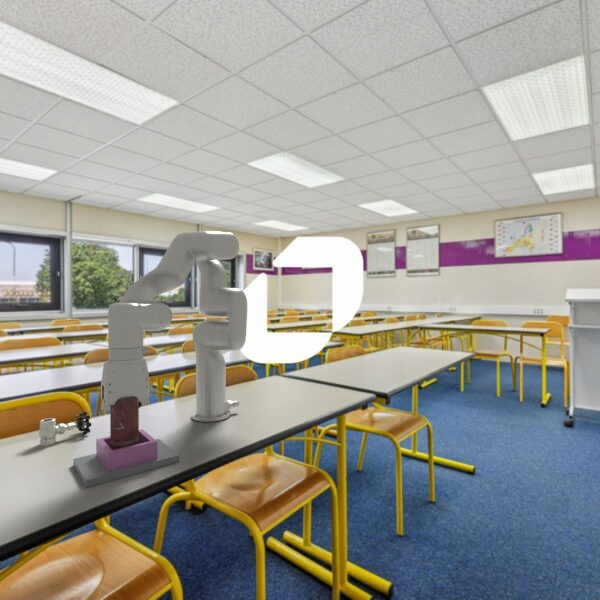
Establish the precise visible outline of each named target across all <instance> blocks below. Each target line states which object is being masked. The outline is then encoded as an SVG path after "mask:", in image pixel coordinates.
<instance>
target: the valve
mask: <svg viewBox="0 0 600 600" xmlns="http://www.w3.org/2000/svg"><path fill="white" fill-rule="evenodd" d="M90 419H91V416H90V415H89V414H88V412H87V411H86V410H85V411H82V412H81V413H79V414H78V418H77V419H76V421H75V423H74V422H69V423H67V424H65V423H63V422H61V423H57V421H56V420H57V419H56V418H54V417H48V418H44V419H43V418H42V419H41V420H40V421H39V430H38V437H39V439H40V440H39V446H40V447H49V446H52V445H55V444H56V443H57V435H59V436H61V435H64V434H65V432H66V431H72V430H74V429H75V428H76V429H78V431H79V432H82V433H81V434H82V435H87V434H89V433H91V429H90V427H92V422H90Z"/></svg>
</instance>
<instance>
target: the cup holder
mask: <svg viewBox="0 0 600 600" xmlns="http://www.w3.org/2000/svg"><path fill="white" fill-rule="evenodd" d="M95 441H96V442H95V444H96V447H95V448H96V452H95V453H92V454H88V455H85V456H80V457H76V458H73V459H72V460H73V461H72V463H73V465H72V466H73V468H74V469H75V471H76V473H77V474H78V476H79V478H80V479H81V482H82V483H83V485H84V487H85V489H86V488H90V487H94V486H97V485H102V484H104V483H107V482H111V481H115V480H118V479H122V478H126V477H128V476H132V475H136V474H139V473H142V472H143V473H144V472H147V471H150V470H154V469H157V468H159V467H160V468H161V467H163V466H167V465H172V464H176V463H178V462H180V454H178V453H177V452H176V451H174V450H173V449H172V448H171V447H169V446H168V445H167V444H166V443H164V442H163V441H162V440H160V438H154V437H153V436H151V435H150V434H149V433H148V432H146V431H145V430H144V429H142V428H141V429H139V444H136V445H132V446H128V447H124V448H119V449H115V450H112V449H111V448H110V436H106V437H102V438H96V439H95Z"/></svg>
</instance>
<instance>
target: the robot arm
mask: <svg viewBox="0 0 600 600" xmlns="http://www.w3.org/2000/svg"><path fill="white" fill-rule="evenodd" d="M239 252H240V243H239V239H238V237H237V236H236V235H235V234H234V233H232V232H225V231H224V232H223V231H211V230H201V231H187V232H181V233H177V235H176V236H175V237H174V238H173V239H172V240H171V243H170V245H169V246H168V248H167V249H166V251H165V253H164V254H163V256H162V258H161V259H160V261H159V262H158V264H157V265H156V267H155V268H153V269H152V270H151V271H149V272H147V273H146V274H144V275H143V276H142V277H140V278H139V279H138V280H136V281H135V282H134V283H133V284H132V285H130V286H129V288H127V290H126V291H125V292H124V294H123V296H122V298H121V299H120V301H119V302H116V303H115V302H114V303H112V304H110V305H109V306H108V308H107V309H108V311H107V318H108V319H107V322H108V323H107V324H108V325H107V326H108V327H107V328H108V331H107V332H108V334H107V335H108V336H107V337H108V338H107V339H108V343H107V344H108V346H107V348H108V349H107V350H108V356H107V357H108V360H106V361H104V363H103V366H102V372H101V373H102V374H101V382H100V383H101V384H100V400H101V407H100V409H101V410H102V411H104V412H110V411H111V406H110V405H114V404H115V402H116V401H117V400H123V399H130V398H133V397H134V396H137V397H138V400H139V409H140V408H141V407H142V406H145V405H147V404H149V403H150V402H151V400H150V394H151V393H150V392H151V389H150V388H151V387H150V375H149V369H148V363H147V360H146V358H144V357H145V355H146V354H149V353H150V349H149V347H145V346H144V332H159V331H163V330H164V329H165V330H166V329H167V328H168V327H169V326H170V324H172V323H171V322H172V320H173V311H172V310H171V308H170V306H169V305H167V304H166V303H164V302H160V301H151V300H153V299H154V298H156V297H157V296H159V295H162V294H164V293H167V292H170V291H172V290H175V289H178V288H180V287H182V286H183V285H184V284H185V282H186V281H187V279H188V277H189V275H190V273H191V271H192V270H193V267H194V265H195V264H196V266H197V267H198V269H199V272H200V288H199V290H200V291H199V294H200V295H199V311H200V313H201V314H202V315H203V316H206V317H210V318H211V317H212V318H213V317H214V318H216V317H217V318H227V319H228V320H226V321H225V320H224V321H223V320H203V321H201V322H199V323H197V324H196V325H195V326H194V328H193V330H192V342H193V346H194V351H195V391H196V395H195V396H196V398H195V399H196V400H195V401H196V403H195V405H196V407H195V408H196V410H195V411H193V412H192V413H191V419H192V420H193V421H195V422H199V423H200V422H202V423H211V422H218V421H223V420H226V419H228V418H229V417H230V416H231V410H230V409H231V408H236V407H239V404H240V401H239V400H234V401H232V400H227V398H226V397H227V392H226V391H227V389H226V386H227V384H226V381H227V380H226V375H227V374H226V371H227V369H226V367H227V365H226V360H225V357H224V355H223V353H222V352H221V351H226V352H227V351H228V352H229V351H230V352H231V351H232V352H233V351H234V352H235V351H239V350H242V349H243V347H244V346H245V343H246V339H247V325H248V323H247V322H248V299H247V295H246V294H245V292H244V291H243V290H242V289H240V288H236V287H227V285H228V284H227V281H228V280H227V275H228V274H227V271H226V269H225V267H224V265H222V263H221V262H220V261H222V260H223V261H224V260H225V261H226V260H233V259H234V258H236V257H237V256H238V254H239Z"/></svg>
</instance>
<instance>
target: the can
mask: <svg viewBox="0 0 600 600" xmlns="http://www.w3.org/2000/svg"><path fill="white" fill-rule="evenodd" d="M110 406H111V411H109V413H110V415H109V417H110V419H109V422H110V425H109V427H110V429H109V431H110V448H111V449H112V450H115V449H119V448H124V447H128V446H132V445H136V444H139V430H140V427H139V426H140V424H139V423H140V419H139V417H140V416H139V411H140V410H139V409H140V408H139V400H138V397H137V396H134V397H133V398H130V399H123V400H117V401H116V402H115V404H114V405H110Z"/></svg>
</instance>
